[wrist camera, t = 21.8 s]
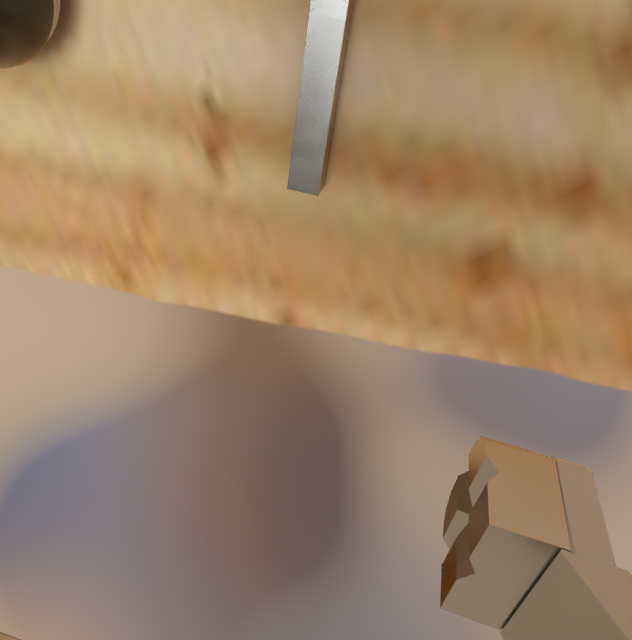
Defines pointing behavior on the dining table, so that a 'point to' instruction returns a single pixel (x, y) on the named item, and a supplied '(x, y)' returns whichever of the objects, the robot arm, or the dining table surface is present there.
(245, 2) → the dining table surface
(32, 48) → the pump dispenser
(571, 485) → the robot arm
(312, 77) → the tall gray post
